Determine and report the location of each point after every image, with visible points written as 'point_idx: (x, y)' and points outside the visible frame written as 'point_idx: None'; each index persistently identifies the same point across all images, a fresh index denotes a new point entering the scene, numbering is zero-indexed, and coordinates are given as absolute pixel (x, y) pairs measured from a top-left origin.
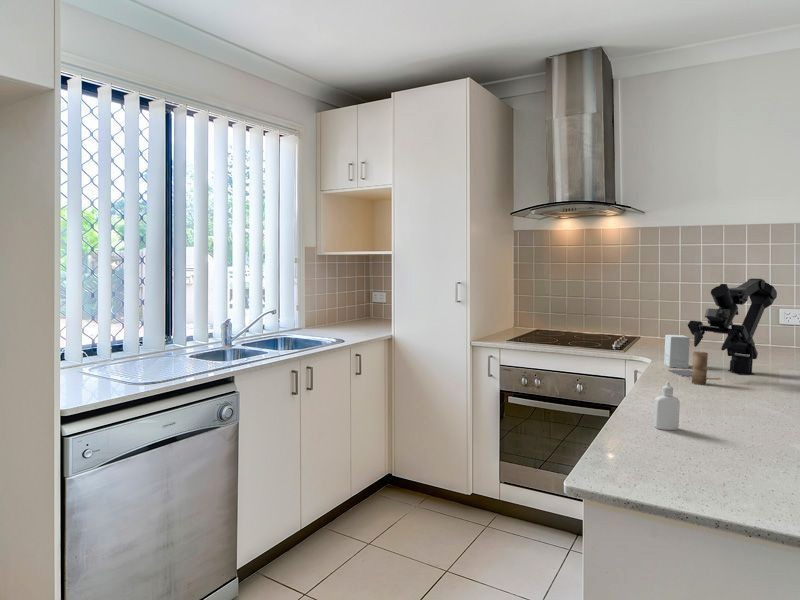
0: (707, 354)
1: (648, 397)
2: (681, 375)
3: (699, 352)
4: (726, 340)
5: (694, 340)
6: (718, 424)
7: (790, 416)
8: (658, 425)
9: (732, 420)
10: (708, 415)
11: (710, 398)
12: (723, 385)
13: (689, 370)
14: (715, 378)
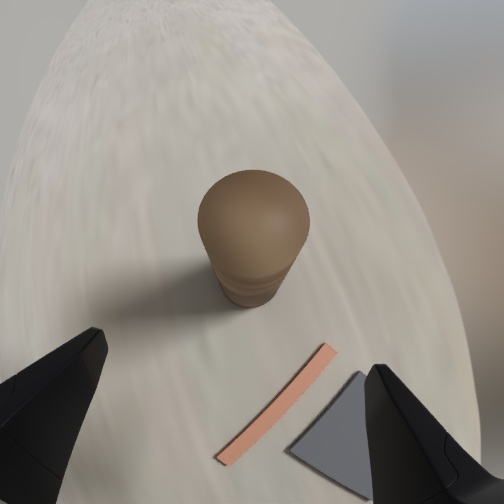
0: (198, 223)
1: (272, 35)
2: (364, 374)
3: (261, 215)
4: (27, 384)
5: (414, 397)
6: (136, 13)
7: (31, 108)
8: None
9: (118, 31)
10: (150, 25)
11: (159, 99)
12: (161, 326)
13: (371, 498)
14: (232, 442)
